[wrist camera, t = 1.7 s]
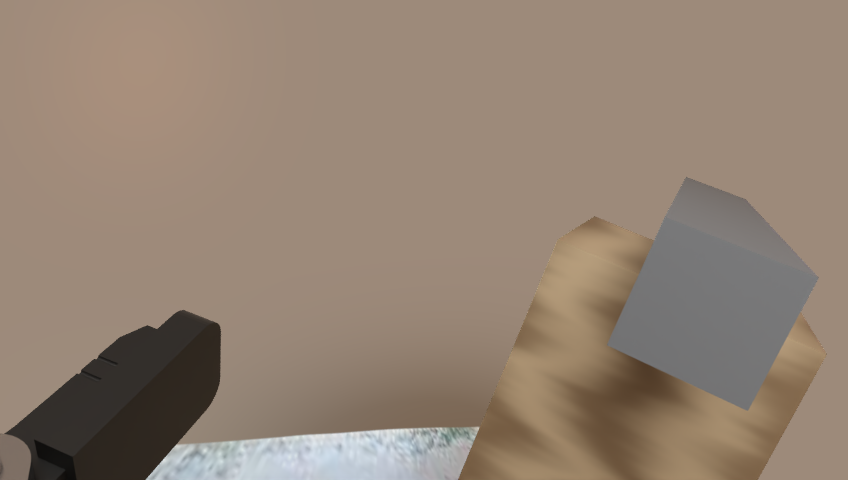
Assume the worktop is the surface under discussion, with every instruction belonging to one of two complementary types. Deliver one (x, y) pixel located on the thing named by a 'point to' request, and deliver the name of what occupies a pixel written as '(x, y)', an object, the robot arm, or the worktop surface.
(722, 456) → the stand
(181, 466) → the worktop surface
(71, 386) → the robot arm
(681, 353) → the block
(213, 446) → the worktop surface
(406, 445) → the worktop surface
